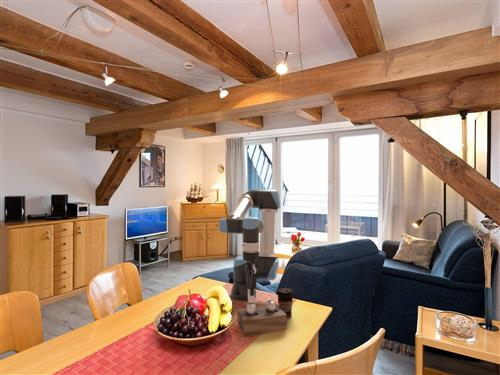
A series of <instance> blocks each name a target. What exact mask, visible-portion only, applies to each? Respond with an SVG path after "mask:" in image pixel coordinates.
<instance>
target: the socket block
mask: <svg viewBox="0 0 500 375" xmlns="http://www.w3.org/2000/svg"><path fill="white" fill-rule="evenodd" d="M287 319H288V318H286V313H285V312H284V311H283V310H282V309H281V308H280V307H279V305H278V303H276V312H275V313H268V312H267V304H266V305H265V304H264V305H258V306H256V315H255V316H249V317H248V316H247V307H245V308H243V307H242V308H238V309H237V325H238V327H239V329H240V331H241V333H242V335H243V337H244V338H246V337H253V336H258V335H264V334H269V333H276V332H281V331H286V330H287V327H288V326H287V324H288V323H287Z"/></svg>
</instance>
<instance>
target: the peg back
mask: <svg viewBox="0 0 500 375" xmlns="http://www.w3.org/2000/svg"><path fill="white" fill-rule="evenodd" d="M276 304H277V303H276V301H275V300H272V299H271V300H270V299H269V300H267V302H266V305H267V312H268V313H275V312H276Z"/></svg>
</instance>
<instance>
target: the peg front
mask: <svg viewBox="0 0 500 375" xmlns="http://www.w3.org/2000/svg"><path fill="white" fill-rule="evenodd" d="M256 305H257V304H256V303H255V302H251V303H249V302H247V304H246V308H247V316H248V317H249V316H255V315H256V307H257V306H256Z"/></svg>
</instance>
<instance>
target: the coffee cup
mask: <svg viewBox="0 0 500 375" xmlns="http://www.w3.org/2000/svg"><path fill="white" fill-rule="evenodd" d="M294 294H295V292H294V291H293V289H292V288H288V287H283V288H279V289H278V290H277V292H276V295H277V305H278V306H279V307H280V308H281V309H282V310H283V311H284V312H285V313H286V319H288V318H291V317H292V316H293V315H292V313H293V312H292V310H293V309H292V308H293V303H294V302H293V298H294Z"/></svg>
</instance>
